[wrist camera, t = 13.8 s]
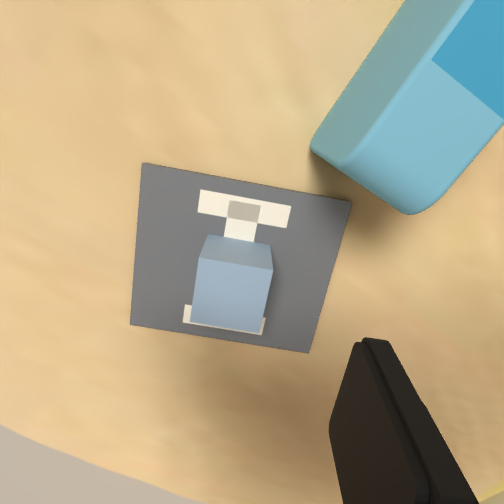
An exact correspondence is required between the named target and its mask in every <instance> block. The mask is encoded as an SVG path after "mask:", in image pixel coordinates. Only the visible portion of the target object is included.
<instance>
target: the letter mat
mask: <svg viewBox="0 0 504 504" xmlns="http://www.w3.org/2000/svg"><path fill="white" fill-rule="evenodd" d="M351 205H352V202H351V201H347V200H342V199H337V198H331V197H326V196H321V195H315V194H310V193H305V192H299V191H294V190H289V189H283V188H278V187H273V186H267V185H262V184H257V183H251V182H246V181H241V180H235V179H230V178H225V177H219V176H214V175H209V174H203V173H198V172H193V171H187V170H182V169H177V168H171V167H166V166H161V165H155V164H150V163H145V162H144V163H142V168H141V182H140V195H139V208H138V222H137V235H136V249H135V262H134V276H133V289H132V303H131V316H130V325H135V326H141V327H147V328H154V329H160V330H166V331H172V332H179V333H185V334H191V335H197V336H203V337H210V338H216V339H222V340H228V341H234V342H241V343H247V344H253V345H259V346H265V347H272V348H278V349H284V350H290V351H296V352H303V353H309V350H310V347H311V343H312V340H313V336H314V333H315V329H316V326H317V323H318V319H319V316H320V312H321V309H322V305H323V302H324V298H325V295H326V292H327V288H328V285H329V281H330V278H331V274H332V271H333V267H334V264H335V261H336V257H337V254H338V250H339V247H340V243H341V240H342V236H343V233H344V230H345V226H346V223H347V219H348V216H349V212H350V209H351ZM208 234H211V235H217V236H223V237H228V238H234V239H240V240H245V241H251V242H256V243H262V244H268V245H270V246H271V255H272V263H273V274H272V278H271V283H270V287H269V292H268V296H267V301H266V305H265V309H264V314H263V318H262V323H261V327H260V332H259V333H254V332H248V331H242V330H236V329H230V328H224V327H217V326H211V325H205V324H199V323H193V322H190V316H191V309H192V302H193V295H194V288H195V281H196V274H197V267H198V260H199V256H200V253H201V251H202V248H203V246H204V243H205V241H206V238H207V236H208Z"/></svg>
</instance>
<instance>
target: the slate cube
mask: <svg viewBox="0 0 504 504" xmlns="http://www.w3.org/2000/svg"><path fill="white" fill-rule="evenodd" d="M272 274H273V263H272V255H271V246H270V245H268V244H262V243H256V242H251V241H245V240H240V239H234V238H228V237H223V236H217V235H211V234H208V236H207V238H206V241H205V243H204V246H203V248H202V251H201V253H200V256H199V260H198V267H197V274H196V281H195V288H194V295H193V302H192V309H191V316H190V322H193V323H199V324H205V325H211V326H217V327H224V328H230V329H236V330H242V331H248V332H254V333H259V332H260V327H261V323H262V318H263V314H264V309H265V305H266V301H267V296H268V292H269V287H270V283H271V278H272Z"/></svg>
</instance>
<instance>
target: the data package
mask: <svg viewBox="0 0 504 504" xmlns="http://www.w3.org/2000/svg"><path fill="white" fill-rule="evenodd" d="M503 124H504V0H405V2H404V3H403V4H402V6H401V7H400V9H399V10H398V12H397V13H396V15H395V16H394V18H393V19H392V21H391V22H390V23H389V25H388V26H387V28H386V29H385V31H384V32H383V34H382V35H381V37H380V38H379V40H378V41H377V43H376V44H375V46H374V47H373V48H372V50H371V51H370V53H369V54H368V56H367V57H366V59H365V60H364V62H363V63H362V65H361V66H360V68H359V69H358V71H357V72H356V73H355V75H354V76H353V78H352V79H351V81H350V82H349V84H348V85H347V87H346V88H345V90H344V91H343V93H342V94H341V96H340V97H339V99H338V100H337V101H336V103H335V104H334V106H333V107H332V109H331V110H330V112H329V113H328V115H327V116H326V118H325V119H324V121H323V122H322V124H321V125H320V126H319V128H318V130H317V131H316V133H315V134H314V136H313V138H312V140H311V143H310V150H311V151H313V152H314V153H315V154H317V155H318V156H320V157H321V158H323V159H324V160H325V161H327V162H328V163H330V164H331V165H332V166H334V167H335V168H337V169H338V170H340V171H341V172H342V173H344V174H345V175H347V176H348V177H350V178H351V179H352V180H354V181H355V182H357V183H358V184H360V185H361V186H363V187H364V188H366V189H367V190H369V191H370V192H372V193H373V194H375V195H376V196H378V197H379V198H381V199H382V200H384V201H385V202H387V203H388V204H389V205H391V206H392V207H394V208H395V209H397V210H398V211H400V212H401V213H403V214H407V215H413V214H417V213H420V212H422V211H424V210H426V209H427V208H429V207H430V206H432V205H433V204H434V203H435V202H437V201H438V200H439V199H440V198H441V197H442V196H443V195H444V194H445V192H446V191H447V190H448V189H449V188H450V187H451V185H452V184H453V183H454V182H455V181H456V180H457V178H458V177H459V176H460V175H461V174H462V173H463V171H464V170H465V169H466V168H467V167H468V165H469V164H470V163H471V162H472V161H473V160H474V158H475V157H476V156H477V155H478V154H479V153H480V151H481V150H482V149H483V148H484V147H485V146H486V144H487V143H488V142H489V141H490V140H491V139H492V137H493V136H494V135H495V134H496V133H497V131H498V130H499V129H500V128H501V127H502V126H503Z"/></svg>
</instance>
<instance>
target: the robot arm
mask: <svg viewBox="0 0 504 504" xmlns="http://www.w3.org/2000/svg"><path fill="white" fill-rule="evenodd" d="M329 437H330V442H331V446H332V451H333V456H334V461H335V466H336V471H337V475H338V480H339V485H340V490H341V495H342V500H343V504H479V502H478V501H477V499H476V497H475V495H474V493H473V492H472V490H471V488H470V486H469V484H468V482H467V481H466V479H465V477H464V475H463V473H462V472H461V470H460V468H459V466H458V464H457V462H456V461H455V459H454V457H453V455H452V453H451V452H450V450H449V448H448V446H447V444H446V442H445V441H444V439H443V437H442V435H441V433H440V432H439V430H438V428H437V426H436V424H435V422H434V421H433V419H432V417H431V415H430V413H429V412H428V410H427V408H426V406H425V405H424V404H423V402H422V401H421V399H420V398H419V396H418V394H417V392H416V390H415V388H414V387H413V385H412V383H411V381H410V379H409V377H408V376H407V374H406V372H405V370H404V368H403V366H402V365H401V363H400V361H399V359H398V357H397V355H396V354H395V352H394V350H393V348H392V346H391V344H390V343H389V342H388V341H386V340H380V339H374V338H367V337H365V338H363V339H362V341H361V342H356V343H355V344H354V346H353V349H352V352H351V355H350V358H349V361H348V365H347V368H346V371H345V374H344V377H343V380H342V383H341V387H340V390H339V393H338V396H337V399H336V402H335V405H334V409H333V412H332V415H331V418H330V422H329Z"/></svg>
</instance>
